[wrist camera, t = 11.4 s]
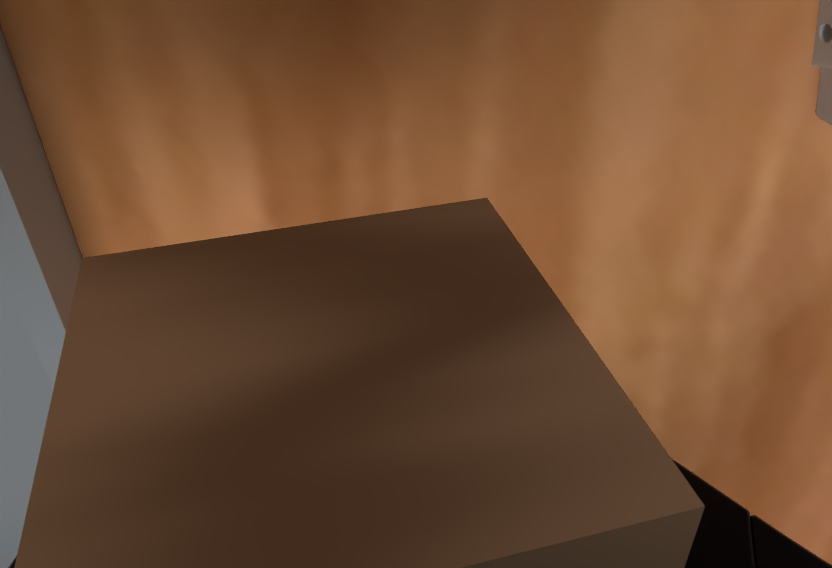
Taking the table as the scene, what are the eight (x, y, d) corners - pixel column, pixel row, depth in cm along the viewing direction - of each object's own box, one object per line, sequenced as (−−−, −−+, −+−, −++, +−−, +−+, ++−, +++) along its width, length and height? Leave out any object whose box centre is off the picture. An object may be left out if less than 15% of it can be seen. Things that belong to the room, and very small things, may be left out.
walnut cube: (487, 198, 9) (705, 506, 5) (476, 455, 12) (613, 778, 8) (81, 258, 8) (-13, 687, 4) (175, 522, 11) (169, 921, 7)
